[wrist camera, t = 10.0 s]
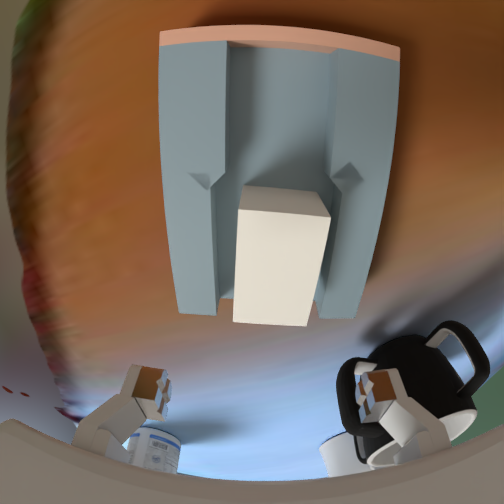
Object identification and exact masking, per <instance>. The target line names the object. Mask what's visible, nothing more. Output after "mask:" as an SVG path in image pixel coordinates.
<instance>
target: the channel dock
mask: <svg viewBox="0 0 504 504" xmlns="http://www.w3.org/2000/svg"><path fill="white" fill-rule="evenodd" d="M399 76H400V47H397V46H393V45H390V44H386V43H382V42H379V41H375V40H370V39H366V38H362V37H357V36H352V35H347V34H342V33H336V32H330V31H323V30H316V29H308V28H298V27H287V26H270V25H220V26H204V27H192V28H183V29H175V30H167V31H161V32H160V43H159V131H160V152H161V168H162V182H163V194H164V205H165V215H166V225H167V233H168V242H169V250H170V257H171V265H172V272H173V278H174V285H175V291H176V298H177V304H178V309H179V313H186V314H200V315H215V316H217V310H218V305H219V300H220V298H231V299H234V286H235V264H236V244H237V225H238V209H239V204H240V199H241V194H242V189H243V185H247V186H260V187H272V188H283V189H293V190H303V191H312V192H317V193H318V195H319V197H320V199H321V200H322V202H323V204H324V206H325V207H326V209H327V211H328V213H329V215H330V216H331V221H330V226H329V231H328V236H327V241H326V246H325V250H324V255H323V259H322V264H321V268H320V273H319V277H318V281H317V285H316V290H315V294H314V298H313V301H315V302H316V306H317V310H318V315H319V318H355V316H356V313H357V310H358V306H359V303H360V300H361V297H362V293H363V290H364V286H365V283H366V279H367V276H368V272H369V268H370V264H371V261H372V257H373V253H374V249H375V244H376V240H377V236H378V232H379V227H380V222H381V218H382V213H383V208H384V203H385V198H386V192H387V186H388V181H389V174H390V168H391V161H392V154H393V147H394V139H395V130H396V120H397V109H398V95H399Z"/></svg>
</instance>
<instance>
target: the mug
mask: <svg viewBox="0 0 504 504" xmlns="http://www.w3.org/2000/svg"><path fill="white" fill-rule="evenodd" d="M449 334H452V335H454V336H455V337H456V338H457V339H458V341H459V342H460V343H461V345H462V347H463V348H464V350H465V351H466V353H467V355H468V357H469V359H470V361H471V363H472V366H473V368H474V376H473V377H472V378H471V379H470V380H469V381H468V382H467V383H466V384H465V385H464V383H463V381H462V380H461V378H460V376H459V375H458V374H457V372H456V371H455V369H454V368H453V367H452V365H451V364H450V362H449V361H448V360H447V358H446V357H445V356H444V355H443V354H442V352H441V351H440V350H439V349H438V348H437V347H438V346H439V345H440V343H441V342H442V341H443V340H444V339H445V338H446V337H447V336H448V335H449ZM393 368H396V369H397V370H398V372H399V375H400V377H401V380H402V383H403V385H404V388H405V391H406V393H407V396H408V397H411V398H413V399H414V400H415V401H416V402H417V403H419V404H420V405H421V406H422V407H424V408H425V409H426V410H427V411H429V412H430V413H431V414H432V415H434V416H435V417H436V418H437V419H438V420H440V421H441V422H442V423H443V424H444V425H445V427H446V430H447V433H448V436H449V439H450V441H452V440H453V439H455V438H456V437H457V436H459V435H460V434H461V433H462V432H463V431H465V430H466V429H467V428H468V427H469V426H470V425H471V424H472V423H473V421H474V419H475V418H476V416H477V409H476V407H475V405H474V403H473V400H472V398H471V396H472V395H473V394H474V393H475V392H476V391H477V390H478V388H479V387H480V386H481V385H482V384H483V383H484V382H485V381H486V379H487V378H488V376H489V374H490V363H489V359H488V357H487V355H486V354H485V352H484V350H483V348H482V347H481V345H480V343H479V342H478V340H477V339H476V337H475V336H474V334H473V333H472V332H471V331H470V330H469V329H468V328H467V327H466V326H465V325H463V324H461V323H459V322H456V321H445V322H443V323H441V324H439V325H438V326H437V327H436V328H435V329H434V330H433V331H432V332H431V333H430V334H429V336H428V337H427V338H425V337H422V336H418V335H410V336H404V337H401V338H398V339H395V340H392V341H390V342H388V343H386V344H385V345H383V346H381V347H380V348H378V349H377V350H376V351H375V352H373V353H372V354H371V355H370V356H369V357H368V358H360V357H355V358H351V359H349V360H347V361H346V362H345V363H344V364H343V365H342V366H341V368H340V370H339V372H338V376H337V380H336V391H337V398H338V405H339V410H340V415H341V420H342V424H343V426H344V428H345V429H346V431H347V432H348V433H349V434H351V435H353V438H354V444H355V450H356V455H357V458H358V460H359V461H360V462H361V463H363V464H369V465H371V466H375V467H384V466H392V465H395V462H394V457H393V456H394V455H395V454H396V453H397V452H398V451H399V450H400V449H401V448H402V447H401V446H400V445H399V444H398V442H397V441H396V440H395V439H394V438H393V437H392V436H391V435H390V434H389V433H388V432H387V430H386V429H385V428H384V427H383V426H382V425H381V424H380V423H379V421H375V422H368V423H361V419H360V415H359V409H360V407H361V406H360V405H359V404H358V403H357V402H356V396H355V391H356V381H355V374H357V375H361V376H362V374H363V373H364V372H368V371H376V370H383V369H385V370H386V369H393ZM361 376H360V381H361V380H362V379H361Z"/></svg>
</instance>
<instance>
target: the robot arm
mask: <svg viewBox="0 0 504 504" xmlns="http://www.w3.org/2000/svg"><path fill="white" fill-rule="evenodd" d="M167 377H168V373H167V370H164V369H157V368H150V367H144V366H138V365H132V366H131V367H130V368H129V371H128V373H127V376H126V378H125V381H124V384H123V386H122V389H121V392H120V394H116V395H114V396H113V397H112V398H111V399H109V400H108V401H107V402H105V403H104V404H103V405H101V406H100V407H99V408H97V409H96V410H94V411H93V412H92V413H90V414H89V415H88V416H86V417H85V418H84V419H82V420H81V421H80V423H79V425H78V428H77V430H76V433H75V435H74V438H73V441H72V443H71V445H69V444H67V443H64V442H62V441H60V440H57V439H55V438H53V437H50V436H48V435H46V434H44V433H42V432H40V431H37V430H35V429H33V428H31V427H29V426H28V425H26V424H23V423H22V422H20V421H18V420H15V419H9V420H6V421H4V422H2V423H1V424H0V504H504V424H502V425H500V426H498V427H496V428H494V429H492V430H490V431H488V432H486V433H484V434H482V435H479V436H477V437H475V438H473V439H471V440H468V441H466V442H463V443H461V444H459V445H456V446H454V447H452V446H451V442H450V439H449V436H448V433H447V430H446V427H445V425H444V424H443V423H442V422H441V421H440V420H438V419H437V418H436V417H435V416H434V415H432V414H431V413H430V412H429V411H427V410H426V409H425V408H424V407H422V406H421V405H420V404H419V403H417V402H416V401H415V400H414V399H413V398H411V397H408V396H407V393H406V391H405V388H404V385H403V383H402V380H401V377H400V375H399V372H398V370H397V369H396V368H393V369H386V370H385V369H383V370H376V371H368V372H364V373H363V374H362V376H361V379H362V380H361V381H360V382H359V383H358V384H357V386H356V391H355V396H356V402H357V403H358V404H359V405H360V406H361V407H360V409H359V415H360V419H361V423H368V422H375V421H379V423H380V424H381V425H382V426H383V427H384V428H385V429H386V430H387V432H388V433H389V434H390V435H391V436H392V437H393V438H394V439H395V440H396V441H397V442H398V444H399V445H400V446H401V447H402V448H401V449H400V450H399V451H398V452H397V453H396V454H395V455H394V456H393V457H394V462H395V465H392V466H384V467H375V466H371V465H369V464H363V463H361V462H360V461H359V460H358V458H357V455H356V450H355V444H354V438H353V435H351V434H349V433H348V432H347V433H344V434H341V435H338V436H336V437H334V438H332V439H330V440H328V441H326V442H325V443H323V444H322V445H321V446H320V448H319V451H320V453H321V455H322V458H323V460H324V463H325V466H326V469H327V472H328V476H329V477H328V478H319V479H308V480H292V481H238V480H222V479H211V478H202V477H194V476H186V475H180V474H174V473H168V472H163V471H158V470H153V469H148V468H144V467H139V466H135V465H131V464H128V462H129V458H130V454H129V452H128V451H127V450H126V449H125V448H124V447H123V446H122V444H123V443H124V442H125V441H126V440H127V439H128V438H129V437H130V436H131V435H132V434H133V433H134V432H135V431H136V430H137V429H138V428H139V427H140V426H141V425H142V424H143V423H144V422H145V421H146V420H147V419H151V420H158V421H165V420H166V416H167V412H168V407H167V405H166V403H168V402H169V401H170V399H171V394H172V385H171V381H170V380H169V379H168V378H167Z"/></svg>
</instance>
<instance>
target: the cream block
mask: <svg viewBox="0 0 504 504" xmlns="http://www.w3.org/2000/svg"><path fill="white" fill-rule="evenodd" d="M330 221H331V216H330V215H329V213H328V211H327V209H326V207H325V206H324V204H323V202H322V200H321V199H320V197H319V195H318V193H317V192H312V191H303V190H293V189H283V188H272V187H260V186H247V185H243V189H242V194H241V199H240V204H239V209H238V225H237V244H236V264H235V286H234V309H233V322H241V323H255V324H271V325H290V326H306V325H307V321H308V317H309V314H310V310H311V306H312V302H313V298H314V294H315V290H316V285H317V281H318V277H319V273H320V268H321V264H322V259H323V255H324V250H325V246H326V241H327V236H328V231H329V226H330Z"/></svg>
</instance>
